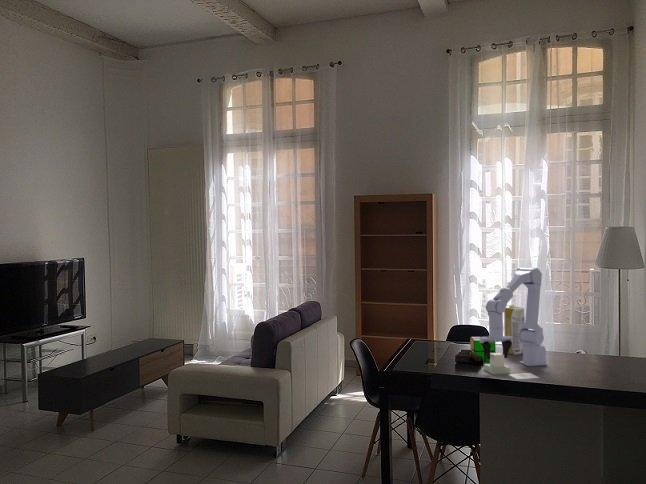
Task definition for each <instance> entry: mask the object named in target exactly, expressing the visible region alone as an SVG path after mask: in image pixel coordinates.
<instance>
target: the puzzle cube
mask: <svg viewBox="0 0 646 484" xmlns="http://www.w3.org/2000/svg"><path fill="white" fill-rule="evenodd" d="M483 337H484V336H470V338H469V339H470V340H469V345H470V349H469V350H471V351H472V352H473V353H474V354H477V355H480V356H482V358H483V361H484V362H485V363H486V362H488V363H490V359H487V358H486V354H485V351H484V348H483V346H482V345H481V343H480V338H483ZM493 341H496V340H493ZM489 344H491V348H490V353H497V352H496V350H497V349H496V342H489Z"/></svg>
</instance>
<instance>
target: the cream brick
mask: <svg viewBox="0 0 646 484" xmlns="http://www.w3.org/2000/svg"><path fill="white" fill-rule="evenodd" d="M489 364H490V365H492V366H494V367H503V366H504V365H505V358H504V355H503V353H501V352H496V353H490V362H489Z"/></svg>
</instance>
